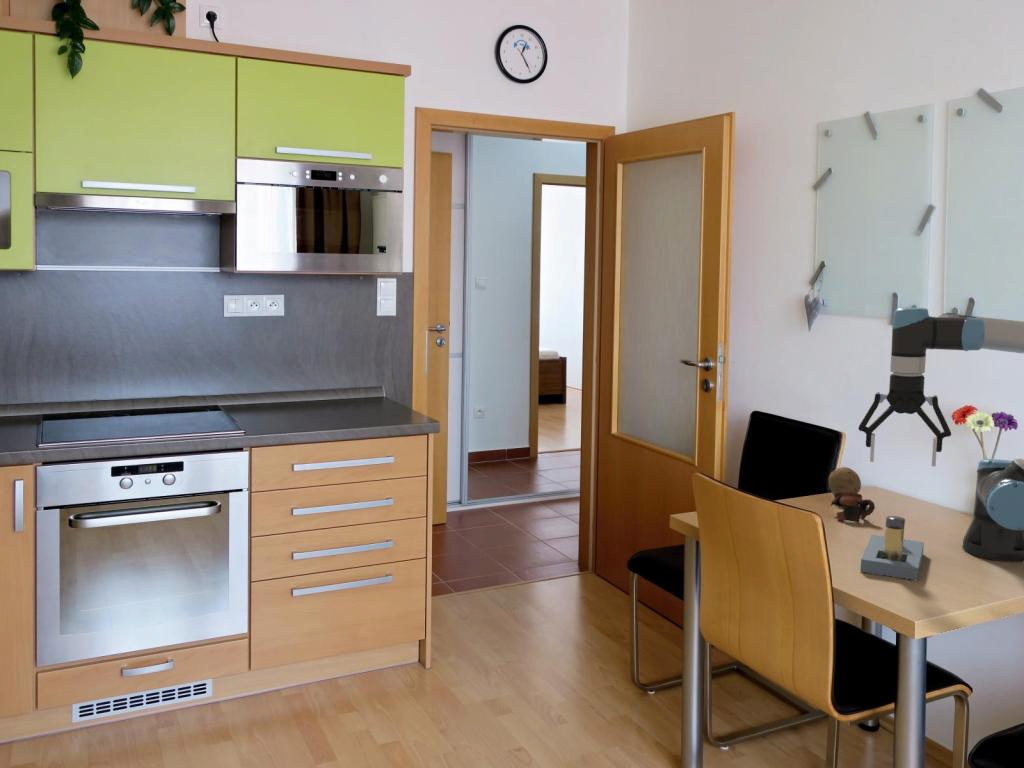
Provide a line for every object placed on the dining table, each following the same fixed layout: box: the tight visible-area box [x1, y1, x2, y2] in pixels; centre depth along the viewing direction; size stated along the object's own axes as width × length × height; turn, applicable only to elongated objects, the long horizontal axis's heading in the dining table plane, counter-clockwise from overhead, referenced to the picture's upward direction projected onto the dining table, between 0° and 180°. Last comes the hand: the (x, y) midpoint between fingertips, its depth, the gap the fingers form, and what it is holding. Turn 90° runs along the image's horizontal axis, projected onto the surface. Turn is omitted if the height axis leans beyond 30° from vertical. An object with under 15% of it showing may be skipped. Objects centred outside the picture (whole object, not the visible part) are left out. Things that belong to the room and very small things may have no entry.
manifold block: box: [859, 534, 925, 581], centre depth 233 cm, size 12×22×3 cm, turn 155°
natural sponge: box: [828, 466, 862, 496], centre depth 289 cm, size 9×9×10 cm
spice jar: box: [883, 515, 906, 562], centre depth 228 cm, size 4×4×12 cm
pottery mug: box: [830, 492, 876, 523], centre depth 271 cm, size 12×10×8 cm
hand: (902, 463), depth 235 cm, fingers open, 13 cm apart
